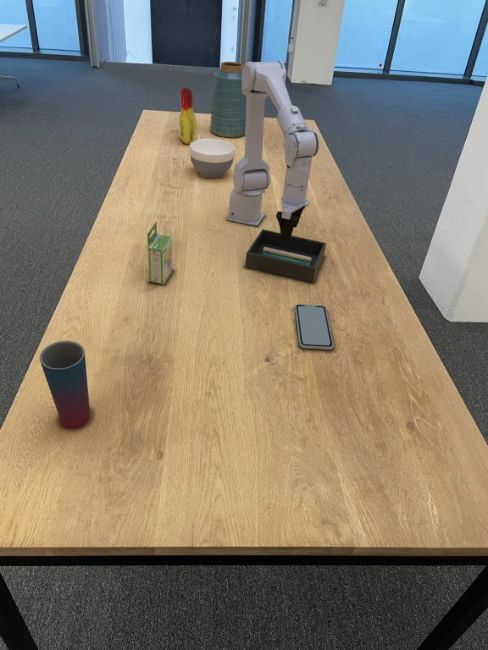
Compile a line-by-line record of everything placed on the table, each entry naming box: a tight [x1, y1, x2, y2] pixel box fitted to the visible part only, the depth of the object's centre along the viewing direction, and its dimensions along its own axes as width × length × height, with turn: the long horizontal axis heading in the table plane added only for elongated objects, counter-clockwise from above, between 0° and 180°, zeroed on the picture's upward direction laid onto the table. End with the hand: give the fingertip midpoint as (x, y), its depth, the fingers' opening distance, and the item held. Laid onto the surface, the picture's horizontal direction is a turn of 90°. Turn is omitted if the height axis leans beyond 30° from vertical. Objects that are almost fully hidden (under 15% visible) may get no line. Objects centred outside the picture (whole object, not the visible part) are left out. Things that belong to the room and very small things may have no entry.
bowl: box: [188, 138, 236, 179], centre depth 177 cm, size 16×16×10 cm
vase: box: [209, 61, 246, 139], centre depth 208 cm, size 16×16×27 cm
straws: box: [262, 247, 312, 266], centre depth 134 cm, size 13×3×3 cm, turn 72°
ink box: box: [146, 221, 174, 286], centre depth 121 cm, size 7×4×13 cm, turn 168°
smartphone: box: [294, 303, 334, 351], centre depth 113 cm, size 7×1×15 cm
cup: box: [39, 340, 91, 429], centre depth 84 cm, size 7×7×15 cm
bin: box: [244, 228, 327, 284], centre depth 134 cm, size 18×14×4 cm
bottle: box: [179, 87, 197, 145], centre depth 198 cm, size 12×6×20 cm, turn 10°
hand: (289, 232), depth 130 cm, fingers open, 7 cm apart
